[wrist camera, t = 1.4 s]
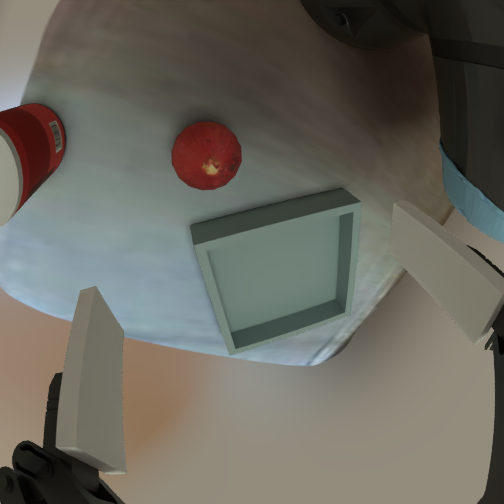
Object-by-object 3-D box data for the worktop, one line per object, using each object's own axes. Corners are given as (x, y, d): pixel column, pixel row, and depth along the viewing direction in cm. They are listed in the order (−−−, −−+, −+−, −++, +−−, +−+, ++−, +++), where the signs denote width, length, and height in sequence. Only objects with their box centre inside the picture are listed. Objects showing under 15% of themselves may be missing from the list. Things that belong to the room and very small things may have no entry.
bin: (342, 187, 33) (361, 201, 30) (338, 297, 44) (350, 314, 41) (189, 225, 31) (193, 245, 28) (223, 333, 41) (229, 355, 38)
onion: (240, 128, 27) (267, 147, 20) (218, 181, 29) (236, 216, 23) (183, 108, 24) (190, 119, 18) (162, 165, 26) (162, 196, 20)
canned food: (26, 88, 18) (-39, 102, 9) (82, 129, 22) (38, 160, 13) (-7, 154, 20) (-68, 197, 11) (45, 192, 24) (0, 250, 15)
